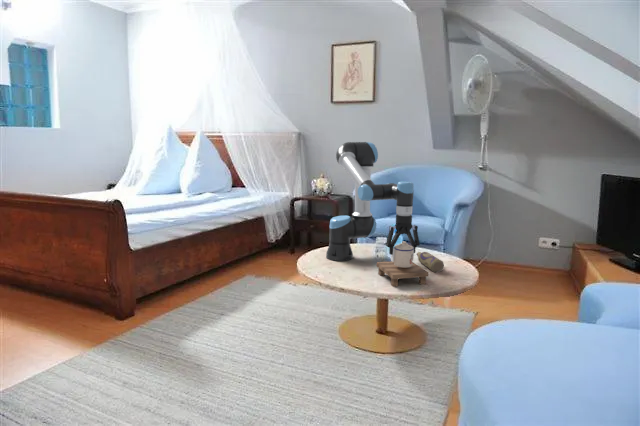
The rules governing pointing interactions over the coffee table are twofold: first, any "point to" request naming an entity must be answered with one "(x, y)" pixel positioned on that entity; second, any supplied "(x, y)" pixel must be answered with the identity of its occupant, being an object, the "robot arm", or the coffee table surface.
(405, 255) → the teacup with lid
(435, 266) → the decorative bottle
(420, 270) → the walnut stand
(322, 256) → the coffee table surface
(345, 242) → the robot arm
